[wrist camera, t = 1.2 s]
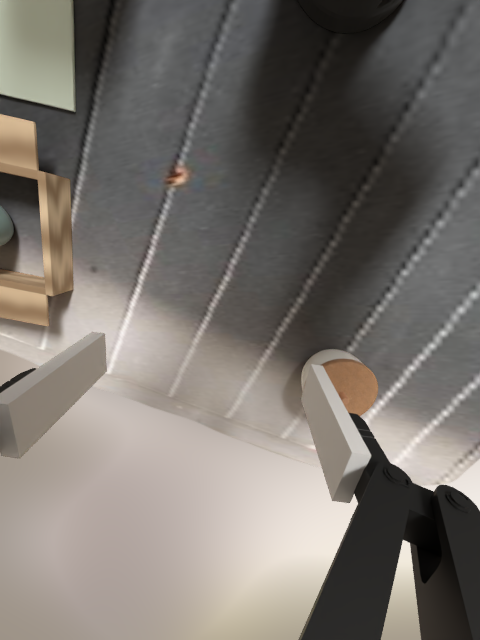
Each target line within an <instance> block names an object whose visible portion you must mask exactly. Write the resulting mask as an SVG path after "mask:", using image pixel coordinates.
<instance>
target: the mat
mask: <svg viewBox="0 0 480 640" xmlns="http://www.w3.org/2000/svg"><path fill="white" fill-rule="evenodd" d="M0 95H4V96H8V97H13V98H17V99H21V100H26V101H30V102H34V103H38V104H43V105H47V106H51V107H56V108H60V109H64V110H69V111H73V112H76V101H75V54H74V8H73V0H0Z"/></svg>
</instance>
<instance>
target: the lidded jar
mask: <svg viewBox="0 0 480 640" xmlns="http://www.w3.org/2000/svg"><path fill="white" fill-rule="evenodd" d="M311 364H314V365H321V366H323V367H324V369H325V371H326V373H327V375H328V376H329V378H330V380H331V382H332V384H333V386H334V387H335V389H336V391H337V393H338V395H339V397H340V398H341V400H342V402H343V404H344V406H345V408H346V409H347V411H348V413H354V414H357V415H359V416H361V415H362V414H364V413H365V412H366V411H367V410H368V409H369V408H370V407H371V406H372V405H373V403H374V401H375V399H376V397H377V393H378V383H377V380H376V377H375V376H374V374H373V373H372V371H371V370H370V369H369V368H368V367H367V366H365V365H364V364H363V363H362V362H361V361H360V360H359V359H358V358H356V357H355V356H353V355H352V354H350V353H348V352H346V351H342V350H338V349H327V350H323V351H320V352H318V353H316V354H314V355H313V356H312V357H310V358H309V359H308V361H307V362H306V363H305V365H304V367H303V370H302V374H301V385H302V391H303V390H304V386H305V383H306V379H307V376H308V372H309V369H310V366H311Z"/></svg>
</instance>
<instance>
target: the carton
mask: <svg viewBox="0 0 480 640" xmlns="http://www.w3.org/2000/svg"><path fill="white" fill-rule="evenodd" d="M0 172H3V173H7V174H12V175H16V176H21V177H26V178H30V179H35V180H38V191H39V205H40V219H41V233H42V247H43V262H44V276H45V278H44V277H39V276H34V275H29V274H24V273H19V272H14V271H9V270H4V269H0V317H2V318H7V319H12V320H17V321H22V322H28V323H33V324H38V325H43V326H50V325H49V310H48V296H47V295H49V296H55V295H58V294H61V293H64V292H67V291H70V290H73V260H72V228H71V195H70V179H67V178H64V177H60V176H57V175H53V174H50V173H46V172H42V171H39V163H38V149H37V134H36V123H35V122H32V121H28V120H24V119H19V118H15V117H11V116H6V115H2V114H0Z"/></svg>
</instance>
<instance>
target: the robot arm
mask: <svg viewBox="0 0 480 640" xmlns="http://www.w3.org/2000/svg"><path fill="white" fill-rule="evenodd" d="M402 1H403V0H298V2H299V3H300V5H301V7H302V8H303V9H304V11H305V12H306V13H307V15H308V16H309V17H310V18H311V19H312V20H313V21H315V22H316V23H317V24H319V25H320V26H322V27H324V28H325V29H328V30H330V31H333V32H338V33H355V32H360V31H363V30H366V29H368V28H371V27H373V26H374V25H376V24H378V23H379V22H381V21H382V20H384V19H385V18H386V17H388V16H389V15H390V14H391V13H392V12H393V11H394V10H395V9H396V8H397V7H398V6H399V5H400V3H401V2H402ZM106 371H107V368H106V347H105V334H104V333H97V332H92V333H90V334H89V335H87V336H86V337H84V338H83V339H81V340H80V341H78V342H76V343H75V344H73V345H72V346H70V347H69V348H67V349H66V350H64V351H63V352H61V353H60V354H58V355H57V356H55V357H54V358H52V359H51V360H49V361H48V362H46V363H45V364H43V365H42V366H40V367H39V368H37V369H35V368H33V369H30V370H28V371H25V372H23V373H20V374H19V375H17V376H15V377H14V378H12V379H11V380H10V381H7V382H6V383H4V384H3V385H2V386H0V453H1V456H5V457H12V458H21V457H22V456H23V455H24V454H25V453H26V452H27V451H28V450H29V449H30V448H31V447H32V446H33V445H34V444H35V443H36V442H37V441H38V440H39V439H40V438H41V437H42V436H43V435H44V434H45V433H46V432H47V431H48V430H49V429H50V428H51V427H52V426H53V425H54V424H55V423H56V422H57V421H58V420H59V419H60V418H61V417H62V416H63V415H64V414H65V413H66V412H67V411H68V410H69V409H70V407H72V406H73V405H74V404H75V402H77V401H78V400H79V399H80V398H81V396H82V395H84V393H86V391H87V390H89V389H90V388H91V387H92V386H93V385H94V384H95V383H96V381H97V380H98V379H99V378H100V377H101V376H102V375H103V374H104V373H105V372H106ZM301 401H302V405H303V408H304V411H305V414H306V418H307V421H308V424H309V427H310V430H311V434H312V437H313V440H314V443H315V447H316V450H317V453H318V456H319V460H320V463H321V466H322V469H323V473H324V476H325V479H326V482H327V485H328V489H329V492H330V495H331V498H332V501H339V502H346V503H350V501H351V499H352V497H353V495H354V494H355V496H356V499H357V501H358V506H357V508H356V510H355V512H354V514H353V516H352V518H351V521H350V523H349V526H348V528H347V530H346V533H345V535H344V537H343V539H342V542H341V544H340V547H339V549H338V551H337V553H336V556H335V558H334V560H333V562H332V565H331V567H330V569H329V571H328V574H327V576H326V578H325V581H324V583H323V585H322V587H321V590H320V592H319V594H318V597H317V599H316V601H315V603H314V606H313V608H312V610H311V612H310V615H309V617H308V619H307V622H306V624H305V626H304V629H303V631H302V633H301V636H300V638H299V640H381V635H382V631H383V627H384V622H385V617H386V613H387V609H388V604H389V599H390V595H391V590H392V586H393V581H394V577H395V572H396V568H397V563H398V559H399V554H400V550H401V545H402V541H403V540H405V541H408V542H410V546H411V554H412V563H413V571H414V580H415V589H416V597H417V605H418V615H419V624H420V632H421V640H480V511H479V509H478V508H477V506H476V505H475V504H474V503H473V502H472V501H471V500H470V499H469V498H468V497H467V496H466V495H464V494H463V493H462V492H460V491H458V490H456V489H455V488H453V487H450V486H447V485H439V486H438V487H437V488H436V489H435V491H434V492H433V491H431V490H428V489H426V488H423V487H421V486H418V485H416V484H414V483H412V481H411V479H410V477H409V476H408V475H407V474H406V473H405V472H404V471H403V470H401V469H400V468H399V467H397V466H395V465H393V464H391V463H390V462H389V460H388V459H387V457H386V455H385V454H384V452H383V450H382V449H381V447H380V446H379V444H378V442H377V441H376V439H374V436H373V434H372V432H370V429H369V427H368V426H367V424H366V422H365V421H364V420H363V419H362V418H361V417H360V416H359V415H357V414H354V413H348V411H347V409H346V408H345V406H344V404H343V402H342V400H341V398H340V397H339V395H338V393H337V391H336V389H335V387H334V386H333V384H332V382H331V380H330V378H329V376H328V375H327V373H326V371H325V369H324V367H323V366H321V365H314V364H311V366H310V369H309V372H308V376H307V379H306V383H305V386H304V390H303V393H302V397H301Z"/></svg>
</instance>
